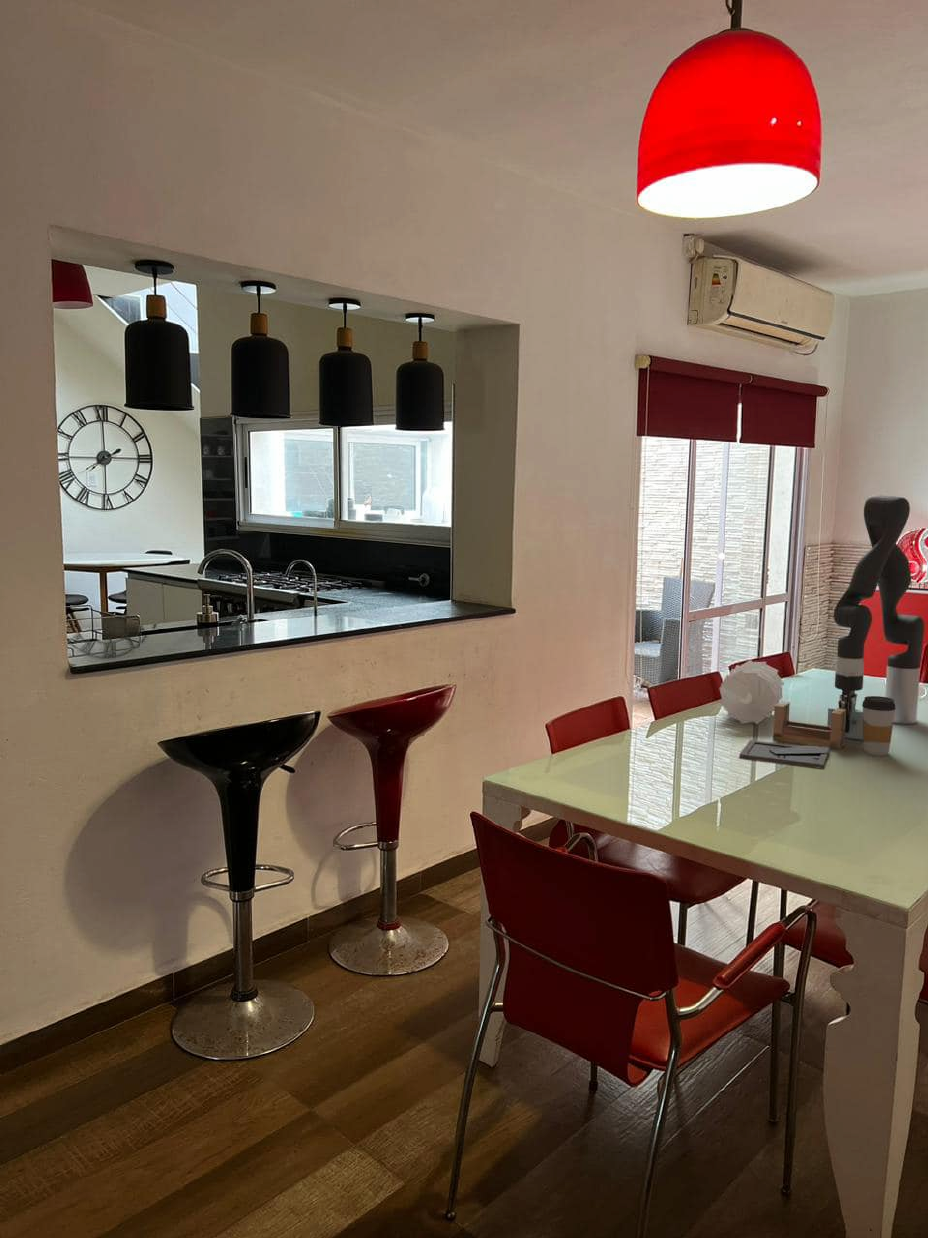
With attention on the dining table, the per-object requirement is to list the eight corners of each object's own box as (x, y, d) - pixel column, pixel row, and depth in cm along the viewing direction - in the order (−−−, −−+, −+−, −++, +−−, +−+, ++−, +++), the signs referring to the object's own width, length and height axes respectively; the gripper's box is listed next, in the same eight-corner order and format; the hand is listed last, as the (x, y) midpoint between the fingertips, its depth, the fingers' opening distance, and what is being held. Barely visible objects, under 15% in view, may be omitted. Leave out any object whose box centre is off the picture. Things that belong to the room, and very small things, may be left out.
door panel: (829, 732, 268) (830, 706, 266) (865, 737, 262) (867, 710, 261) (826, 735, 264) (827, 708, 263) (862, 740, 259) (864, 713, 258)
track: (779, 734, 267) (780, 701, 265) (844, 743, 257) (846, 709, 255) (772, 739, 261) (774, 705, 259) (839, 749, 251) (841, 714, 250)
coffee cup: (896, 757, 243) (899, 703, 241) (863, 756, 244) (866, 701, 242) (888, 749, 251) (891, 696, 249) (856, 747, 252) (859, 695, 250)
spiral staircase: (768, 723, 296) (758, 737, 273) (719, 695, 302) (706, 707, 279) (796, 675, 291) (789, 686, 269) (746, 648, 297) (735, 656, 274)
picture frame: (829, 754, 247) (749, 745, 257) (829, 747, 247) (750, 738, 257) (822, 770, 233) (739, 759, 243) (823, 763, 233) (739, 752, 243)
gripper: (840, 667, 269) (837, 723, 271) (830, 675, 257) (827, 734, 260) (868, 669, 265) (864, 727, 267) (858, 678, 253) (855, 738, 255)
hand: (846, 730), depth 263 cm, fingers closed on door panel, 3 cm apart
